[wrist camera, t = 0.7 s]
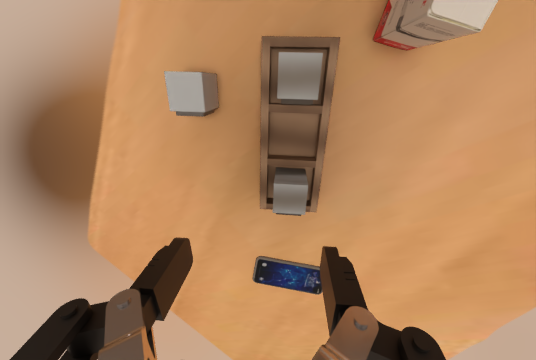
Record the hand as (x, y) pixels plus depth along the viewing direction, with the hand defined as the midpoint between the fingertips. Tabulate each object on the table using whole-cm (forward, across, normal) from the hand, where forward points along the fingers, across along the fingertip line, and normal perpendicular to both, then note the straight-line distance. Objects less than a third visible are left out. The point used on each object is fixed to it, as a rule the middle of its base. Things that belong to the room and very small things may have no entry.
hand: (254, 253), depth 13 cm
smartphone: (+24, -3, +28) cm, 36 cm away
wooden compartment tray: (+24, -2, -2) cm, 24 cm away
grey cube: (+24, +11, -8) cm, 27 cm away
